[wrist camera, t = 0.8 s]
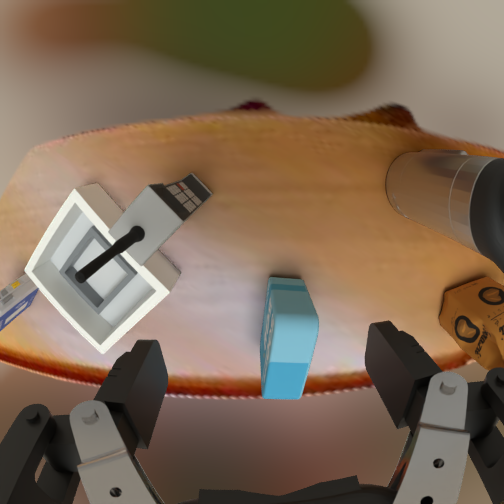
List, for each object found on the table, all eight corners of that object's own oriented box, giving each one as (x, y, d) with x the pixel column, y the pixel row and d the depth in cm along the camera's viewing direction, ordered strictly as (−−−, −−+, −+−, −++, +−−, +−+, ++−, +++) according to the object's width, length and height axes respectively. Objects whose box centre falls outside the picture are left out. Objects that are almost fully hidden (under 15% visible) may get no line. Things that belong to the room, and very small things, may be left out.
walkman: (30, 305, 41) (-8, 338, 29) (21, 294, 40) (-18, 325, 29) (43, 279, 39) (0, 312, 28) (33, 267, 38) (-11, 297, 27)
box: (97, 182, 35) (74, 188, 29) (181, 272, 39) (170, 292, 33) (46, 256, 38) (24, 270, 32) (117, 332, 42) (102, 354, 36)
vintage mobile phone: (213, 193, 35) (142, 265, 12) (185, 220, 36) (88, 327, 13) (192, 172, 35) (84, 203, 11) (165, 200, 36) (39, 275, 12)
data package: (268, 272, 39) (275, 320, 27) (302, 275, 39) (321, 322, 27) (259, 346, 42) (261, 404, 31) (289, 347, 43) (299, 404, 31)
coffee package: (442, 280, 39) (530, 355, 19) (490, 269, 39) (572, 326, 18) (432, 331, 43) (500, 414, 22) (480, 316, 42) (547, 381, 21)
